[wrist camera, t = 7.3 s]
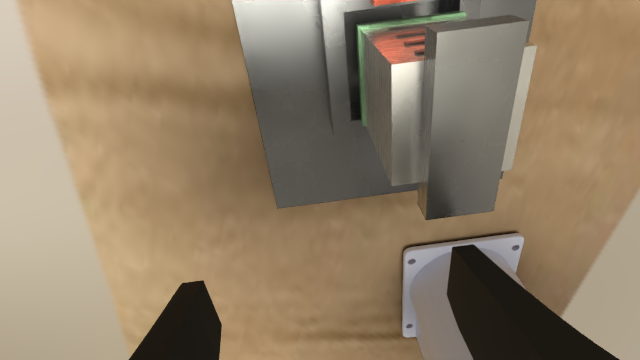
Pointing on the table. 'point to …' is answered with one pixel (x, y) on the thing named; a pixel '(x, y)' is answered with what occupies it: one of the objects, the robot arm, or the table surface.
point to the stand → (326, 89)
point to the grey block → (445, 103)
